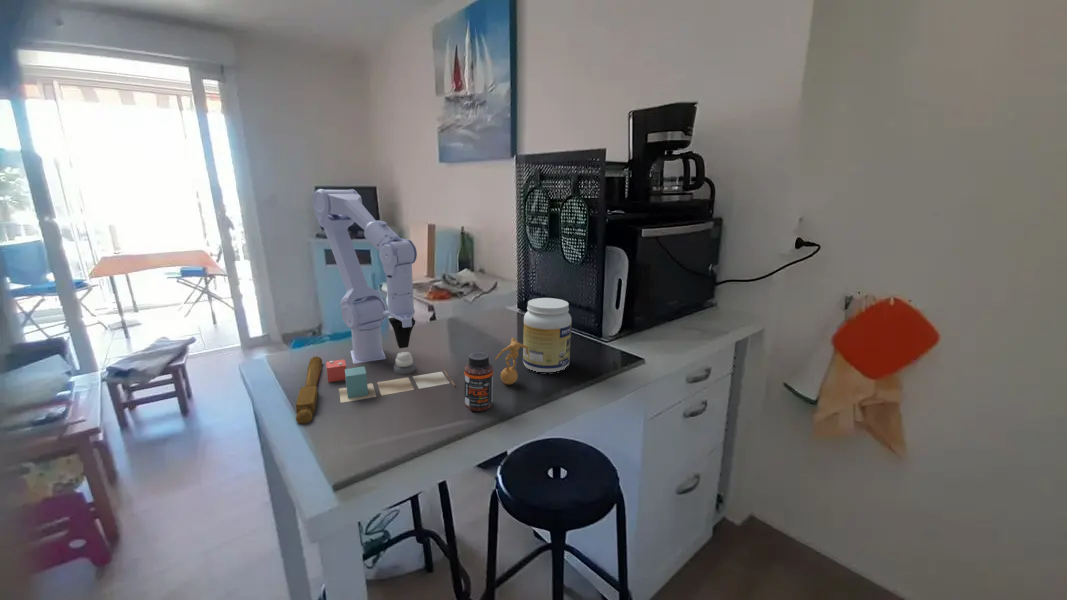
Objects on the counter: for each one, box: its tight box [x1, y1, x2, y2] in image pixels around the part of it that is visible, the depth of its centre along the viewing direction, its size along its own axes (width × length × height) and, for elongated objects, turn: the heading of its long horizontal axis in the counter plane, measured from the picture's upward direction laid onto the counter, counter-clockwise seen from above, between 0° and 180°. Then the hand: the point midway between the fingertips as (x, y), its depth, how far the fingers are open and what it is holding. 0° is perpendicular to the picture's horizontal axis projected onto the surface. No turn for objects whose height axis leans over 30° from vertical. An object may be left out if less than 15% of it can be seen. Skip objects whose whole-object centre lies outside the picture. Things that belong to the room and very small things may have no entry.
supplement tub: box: [522, 297, 573, 373], centre depth 109 cm, size 12×12×17 cm
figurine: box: [495, 337, 528, 385], centre depth 98 cm, size 8×6×12 cm
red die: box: [326, 359, 347, 383], centre depth 100 cm, size 4×4×4 cm
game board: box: [338, 368, 457, 404], centre depth 97 cm, size 10×25×1 cm, turn 116°
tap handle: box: [295, 356, 323, 425], centre depth 94 cm, size 3×3×30 cm
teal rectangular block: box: [345, 365, 368, 398], centre depth 92 cm, size 4×4×5 cm
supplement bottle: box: [463, 351, 494, 412], centre depth 89 cm, size 6×6×11 cm
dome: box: [395, 351, 414, 367], centre depth 104 cm, size 4×4×2 cm
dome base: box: [393, 362, 416, 375], centre depth 105 cm, size 5×5×2 cm
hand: (403, 346), depth 104 cm, fingers closed
